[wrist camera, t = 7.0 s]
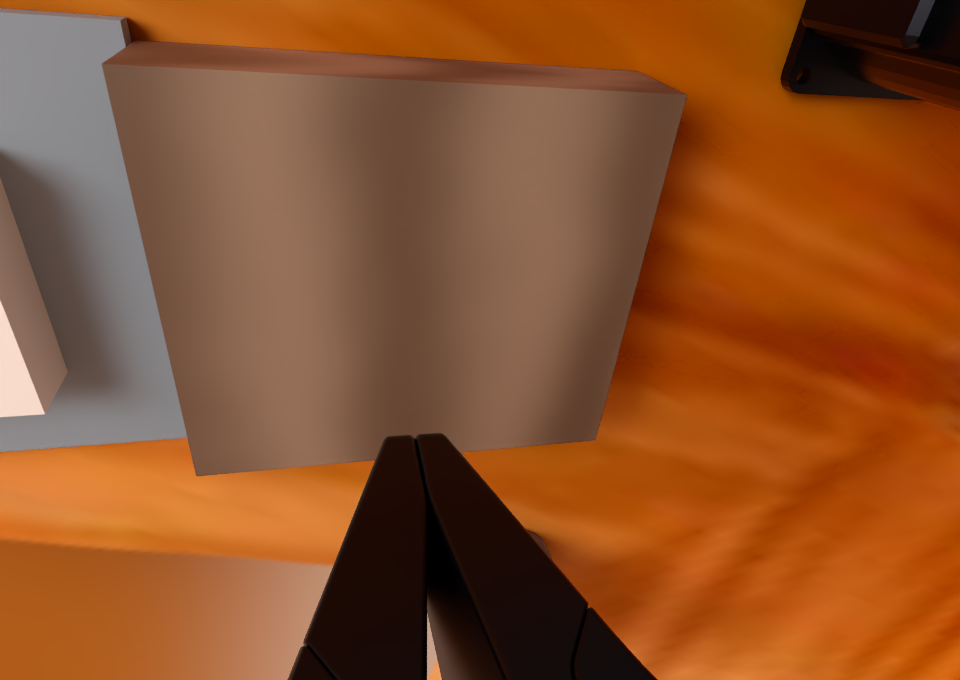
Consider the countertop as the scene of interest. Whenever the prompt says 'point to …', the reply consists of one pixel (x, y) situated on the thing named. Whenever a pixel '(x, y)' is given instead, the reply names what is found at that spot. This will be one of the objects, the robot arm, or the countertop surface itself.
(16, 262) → the pale pink rectangular block
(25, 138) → the mat
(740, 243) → the countertop surface
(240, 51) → the step
